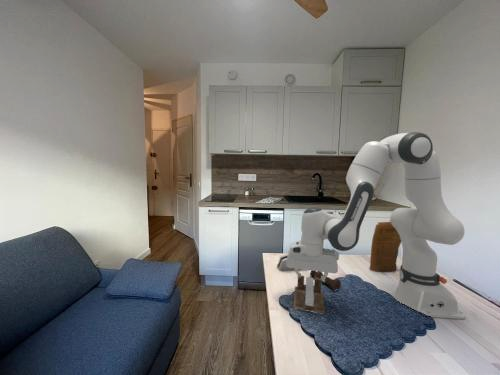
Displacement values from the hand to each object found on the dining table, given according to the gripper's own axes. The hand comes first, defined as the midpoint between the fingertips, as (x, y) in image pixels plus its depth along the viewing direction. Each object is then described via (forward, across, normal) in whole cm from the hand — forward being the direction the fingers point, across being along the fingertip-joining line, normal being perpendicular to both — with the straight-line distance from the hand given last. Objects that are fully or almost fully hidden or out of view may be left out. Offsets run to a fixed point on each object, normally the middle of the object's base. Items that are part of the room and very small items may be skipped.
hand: (310, 279), depth 90 cm
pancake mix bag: (+11, -39, -40) cm, 57 cm away
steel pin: (+6, 0, 0) cm, 6 cm away
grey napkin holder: (+10, +9, -26) cm, 30 cm away
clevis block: (+9, +1, 0) cm, 9 cm away
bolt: (+10, -6, -16) cm, 20 cm away
